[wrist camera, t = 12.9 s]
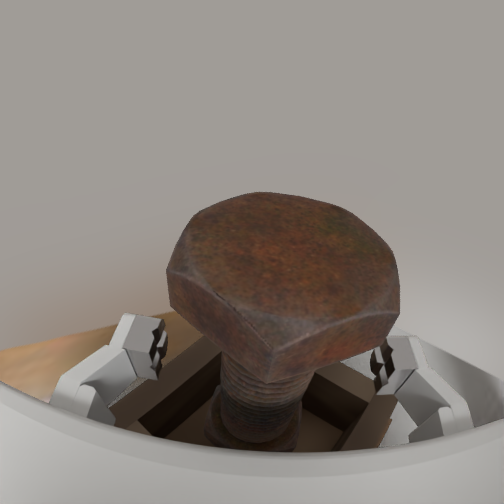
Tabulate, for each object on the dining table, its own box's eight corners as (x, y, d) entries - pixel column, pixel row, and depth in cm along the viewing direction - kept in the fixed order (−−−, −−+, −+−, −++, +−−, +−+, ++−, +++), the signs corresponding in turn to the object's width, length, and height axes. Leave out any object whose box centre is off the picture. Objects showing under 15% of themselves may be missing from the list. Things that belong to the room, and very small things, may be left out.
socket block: (385, 425, 18) (423, 388, 14) (270, 581, 8) (288, 599, 5) (237, 336, 24) (241, 285, 21) (103, 445, 15) (68, 411, 12)
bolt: (276, 401, 18) (338, 187, 10) (306, 465, 15) (446, 285, 6) (191, 421, 17) (156, 200, 8) (213, 492, 13) (184, 356, 4)
